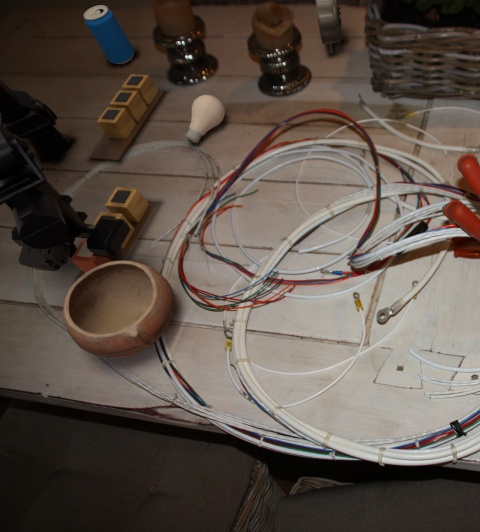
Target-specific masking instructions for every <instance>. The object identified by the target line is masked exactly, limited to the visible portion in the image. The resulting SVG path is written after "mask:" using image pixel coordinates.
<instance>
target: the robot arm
mask: <svg viewBox="0 0 480 532" xmlns="http://www.w3.org/2000/svg"><path fill="white" fill-rule="evenodd" d="M58 118H59V117H58V116H57V114H56V113H55V112H54V110H52V108H51V107H50V106H48V105H47V104H46V103H44V102H43V101H41V100H40V99H39V98H34V97H33V96H32V95H30V94H29V93H28V92H27V91H25V90H16V89H11V88H10V87H9V86H8V85H7V84H6V83H5V82H4V81H3V80H2V79H1V78H0V206H2V205H3V204H5V205H6V206H7V207H8V208H9V209H10V210H11V214H12V218H13V220H14V222H15V226H14V228H13V229H12V230H11V233H10V234H11V240H12V241H13V242H14V243H15V244H16V245H18V246H19V247H21V249H20V253H19V256H18V263H19V265H21V266H24V267H28V268H30V269H34V270H39V271H48V272H58V271H59V270H60V269H61V267H62V266H66V265H67V264H68V261H69V259H71V258H72V256H73V254H74V253H75V251H76V250H77V248H78V247H77V246H76V244H75V241H76V239H87V249H88V250H89V251H90V252H92V253H94V254H93V256H100V257H107V258H108V259H109V260H111V261H123V254H122V244H123V242H124V240H125V239H126V237H127V235H128V234H129V232H130V230H131V228H130V226H129V225H128V224H127V223H126V222H125V220H124V219H114V218H100V220H99V221H98V223H97V224H96V225H93V223H92V224H91V223H85V221H86V220H87V219H88V217H89V215H88V214H87V213H86V211H78V210H76V209H75V208H74V207H73V206H72V204H71V203H72V201H73V198H72V197H71V196H70V195H68V194H61V193H60V192H59V191H58V190H57V189H56V188H55V187H54V186H53V185H52V184H51V183H50V182H49V181H48V179H47V177H46V174H45V172H44V171H45V170H46V167H45V166H44V164H43V163H42V162H41V161H51V162H53V161H54V162H57V161H59V160H61V158H62V156H63V155H64V154H65V152H66V151H67V150H68V148H69V147H70V146H71V144H72V143H73V142H74V139H73V138H72V137H64V136H63V135H62V133H61V132H60V131H59V129H57V128H56V127H55V125H57V119H58Z"/></svg>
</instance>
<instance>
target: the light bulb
mask: <svg viewBox="0 0 480 532" xmlns="http://www.w3.org/2000/svg"><path fill="white" fill-rule="evenodd" d="M225 115H226V110H225V106H224V104H223V103H222V101H221V100H220V99H218V98H217V97H216V96H214V95H210V94H202V95H200V96H198V97H196V99H195V100H194V101H193V103H192V106H191V121H190V124H189V129H188V130H187V132H186V134H185V138H186V139H187V141H188V142H189V143H190V144H198V143H199V142H200V140H201V139H202V137H203V136H205V135H206V133H207V132H208V131H210V130H213V129H214V128H216V127H217V126H219V125H220V124H221V123H222V122H223V120H224V117H225Z"/></svg>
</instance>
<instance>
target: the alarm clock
mask: <svg viewBox="0 0 480 532" xmlns="http://www.w3.org/2000/svg"><path fill="white" fill-rule="evenodd" d="M314 2H315V11H316V17H317V18H316V19H317V23H318V24H317V25H318V30H319V34H320V39H321V43H322V44H323V45H328V47H329V51H330V55H333V54H334V51H333V44H337V43H340V42H341V41H343V42H346V40H345V38H344V37H343V31H342V25H343V23H342V18H341V13H342V11H340V10H341V6H339V2H340V1H339V0H314Z"/></svg>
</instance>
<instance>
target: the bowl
mask: <svg viewBox="0 0 480 532" xmlns="http://www.w3.org/2000/svg"><path fill="white" fill-rule="evenodd" d="M174 312H175V295H174V291H173V288H172V286H171V284H170V282H169V281H168V280H167V279H166V277H164V276H163V274H161V273H160V272H159V271H157V270H156V269H154V268H152V267H151V266H149V265H147V264H145V263H141V262H139V261H134V260H125V259H124V261H112V262H108V263H105V264H101V265H99V266H97V267H94V268H93V269H91V270H89V271H88V272H86V273H85V274H83V275H82V276H81V277H78V279H77V280H75V282H74V283H73V284H72V285H71V286H70V287H69V289H68V291H67V292H66V295H65V298H64V302H63V307H62V317H63V321H64V325H65V328H66V331H67V333H68V335H69V336H70V337H71V339H72V340H73V342H74V343H75V344H76V345H77V346H78V347H79V348H81V349H82V350H83V351H85V352H87V353H89V354H91V355H94V356H96V357H101V358H102V357H103V358H123V357H127V356H131V355H135V354H137V353H140V352H142V351H144V350H146V349H148V348H149V347H151V345H153V344H154V343H156V342H157V341H158V340H159V338H161V336H162V335H163V334H164V333H165V331H166V330H167V328H168V326H169V325H170V323H171V321H172V318H173V315H174Z"/></svg>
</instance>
